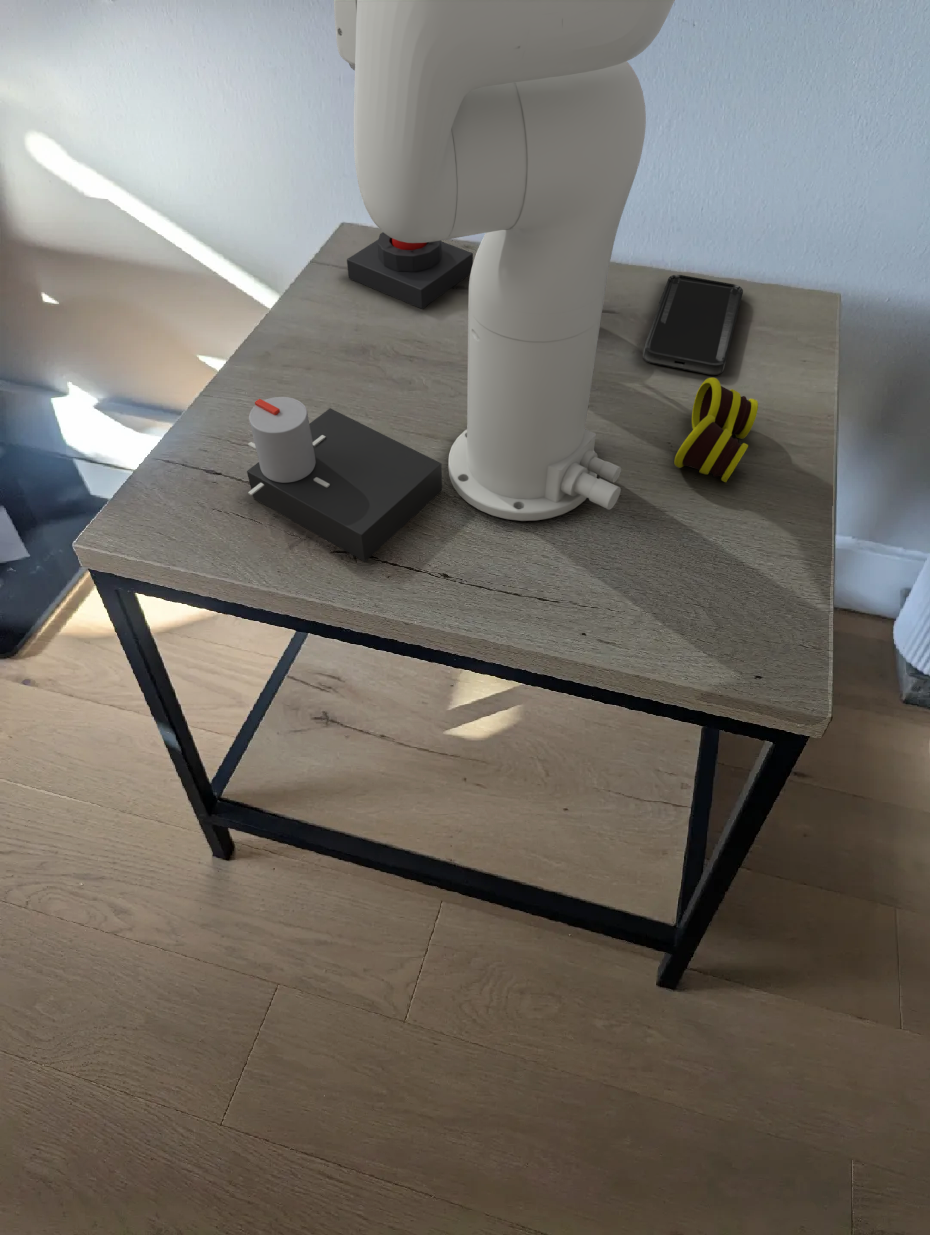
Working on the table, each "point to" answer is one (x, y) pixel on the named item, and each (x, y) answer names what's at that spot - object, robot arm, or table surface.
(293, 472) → the knob
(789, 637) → the table surface
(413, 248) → the power button
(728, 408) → the opera glasses
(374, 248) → the grey button base
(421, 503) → the panel
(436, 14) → the robot arm
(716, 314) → the phone
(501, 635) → the table surface
